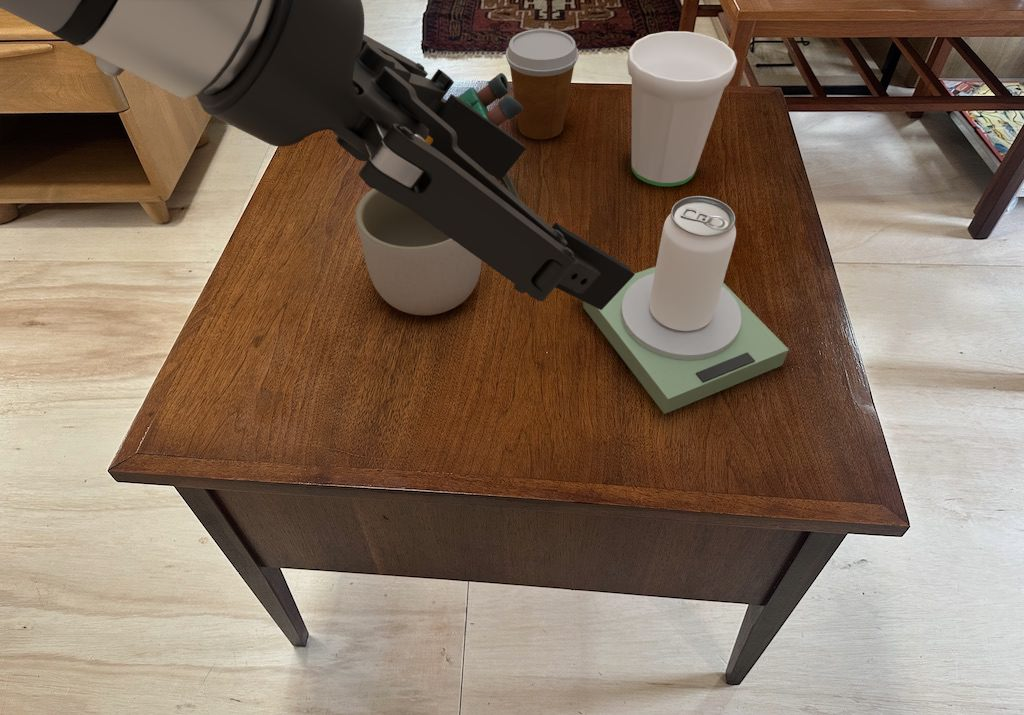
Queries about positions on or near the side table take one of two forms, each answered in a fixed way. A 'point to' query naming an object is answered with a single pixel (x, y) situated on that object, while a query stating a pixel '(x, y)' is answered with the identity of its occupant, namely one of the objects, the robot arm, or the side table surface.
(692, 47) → the cup
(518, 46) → the disposable coffee cup
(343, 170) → the side table surface
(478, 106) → the binoculars
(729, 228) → the can
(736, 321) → the scale
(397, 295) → the planter
